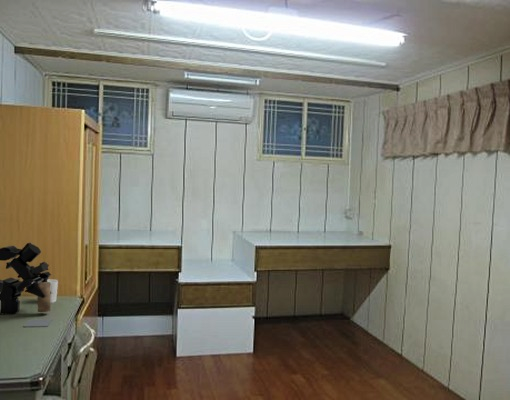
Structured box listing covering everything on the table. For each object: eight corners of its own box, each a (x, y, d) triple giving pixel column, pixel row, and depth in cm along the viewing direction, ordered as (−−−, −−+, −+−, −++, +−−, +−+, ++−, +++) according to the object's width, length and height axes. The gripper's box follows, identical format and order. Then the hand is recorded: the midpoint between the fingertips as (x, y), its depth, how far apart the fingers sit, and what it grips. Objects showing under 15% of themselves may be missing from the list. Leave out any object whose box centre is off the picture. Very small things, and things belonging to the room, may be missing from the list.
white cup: (39, 300, 224) (40, 279, 224) (57, 299, 228) (57, 278, 227) (39, 304, 217) (40, 283, 217) (57, 303, 221) (58, 282, 220)
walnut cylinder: (36, 312, 199) (36, 284, 198) (39, 309, 203) (39, 282, 203) (48, 312, 200) (49, 284, 199) (51, 308, 204) (51, 281, 204)
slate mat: (23, 327, 184) (23, 326, 184) (29, 320, 193) (29, 319, 193) (47, 326, 186) (47, 325, 185) (52, 320, 194) (52, 319, 194)
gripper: (24, 260, 192) (49, 288, 191) (47, 253, 210) (70, 279, 210) (5, 278, 192) (30, 306, 192) (30, 270, 211) (53, 295, 211)
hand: (47, 295), depth 201 cm, fingers closed on walnut cylinder, 5 cm apart
